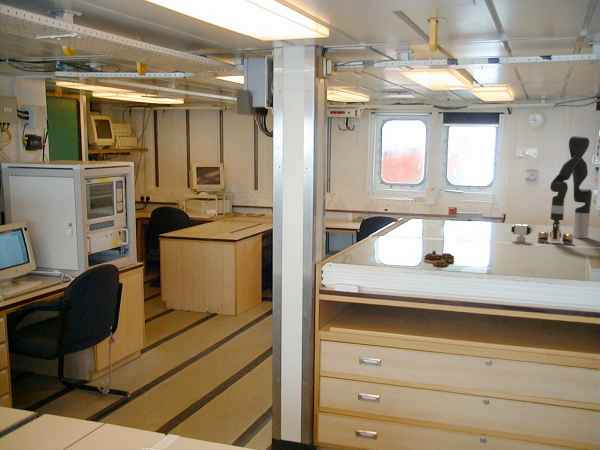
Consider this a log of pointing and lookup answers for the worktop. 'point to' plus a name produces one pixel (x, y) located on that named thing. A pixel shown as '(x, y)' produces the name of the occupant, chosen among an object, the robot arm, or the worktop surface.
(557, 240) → the block
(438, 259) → the gear puzzle
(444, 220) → the worktop surface
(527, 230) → the pneumatic valve
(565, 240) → the pipe stubs
